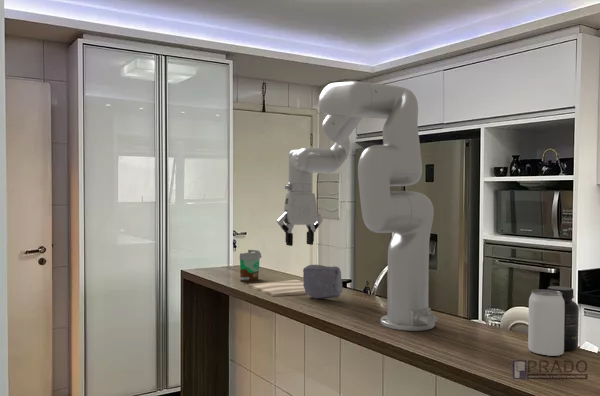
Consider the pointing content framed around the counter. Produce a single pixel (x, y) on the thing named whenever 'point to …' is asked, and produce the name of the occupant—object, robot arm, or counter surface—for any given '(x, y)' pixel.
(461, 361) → the counter surface
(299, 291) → the striped cloth
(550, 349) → the can
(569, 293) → the supplement bottle
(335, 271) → the stone block
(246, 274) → the food container
